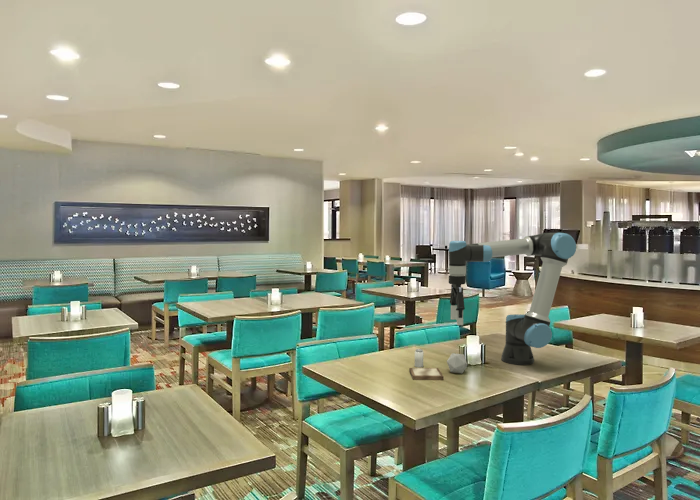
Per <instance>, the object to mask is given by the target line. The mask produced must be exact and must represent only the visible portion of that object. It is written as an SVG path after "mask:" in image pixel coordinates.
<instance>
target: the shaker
mask: <svg viewBox="0 0 700 500" xmlns="http://www.w3.org/2000/svg"><path fill="white" fill-rule="evenodd" d="M414 368H424V350H423V349H421V348H415V351H414Z"/></svg>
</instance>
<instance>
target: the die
mask: <svg viewBox="0 0 700 500" xmlns="http://www.w3.org/2000/svg"><path fill="white" fill-rule="evenodd" d="M446 363H447V366H448V369H449V372H450V373H453V374H463V373H464V371H465V370H466V369H467V367H468V361H467V360H466V356H465V354H462V353H455V352H452V353H450V355H449V357H448V359H447V360H446Z"/></svg>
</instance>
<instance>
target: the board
mask: <svg viewBox="0 0 700 500" xmlns="http://www.w3.org/2000/svg"><path fill="white" fill-rule="evenodd" d="M408 368H409V369H408V371H409V374H410V376H411V379H412V380H413V381H417V380H418V381H425V380H427V381H444V375H443V373H442V371H441V370H440V368H438V367H408Z"/></svg>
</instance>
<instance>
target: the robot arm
mask: <svg viewBox="0 0 700 500" xmlns="http://www.w3.org/2000/svg"><path fill="white" fill-rule="evenodd" d="M576 252H577V243H576V241H575V239H574V237H572V235H571V234H569V233H566V232H565V233H564V232H544V233H539V234H538V233H537V234H533V235H526V236H524V237H523V238H515V239H506V240H496V241H486V242H478V243H467V242H466V240H451V241H450V242H449V243H448V267H447V270H448V274H449V275H448V284H449V285H450V287H451V288H450V298H449V303H450V320H452V321H453V320H456V325H457V326H464V310H465V309H466V308H465V299H464V297H465V296H464V287H462V285H466V284H467V277H466V274H467V263H468V262H469V263H472V262H473V263H475V262H476V263H477V262H479V263H481V262H482V263H485V262H486V263H487V262H490V261H491V260H492V258H497V257H498V258H499V257H510V256H518V255H526V256H527V257H531V256H539V257H540V259H541V260H540V261H542V264H541V267H540V268H541V269H540V271H539V276H538V279H537V283H536V287H535V291H534V294H533V297H532V301H531V304H530V307H529V311H528V312H525V314H524V313H523V314H519V313H517V314H508V315H506V318H505V345H504V347H503V351H502V353H501V359H500V360H501V361H502V362H503V363H506V364H511V365H518V366H519V365H520V366H527V365H533V364H534V363H535V356H534V353H533V350H532V348H535V349H540V348H541V349H542V348H544V347H546V346H547V345H549V343H550V342H551V341H552V338H553V332H552V329H551V327H550V326H551V323H552V322H551V320H550V318H549V316H550V312H551V308H552V307H553V306H552V305H553V301H554V298H555V296H556V295H555V294H556V291H557V287H558V283H559V280H560V277H561V273H562V269H563V268H564V267H565V266H567V265H568V261H569V259H571V258H572V257H573V256H574V255H575V254H576Z"/></svg>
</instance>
